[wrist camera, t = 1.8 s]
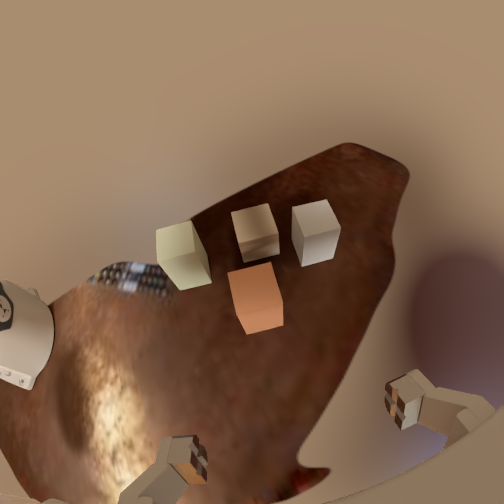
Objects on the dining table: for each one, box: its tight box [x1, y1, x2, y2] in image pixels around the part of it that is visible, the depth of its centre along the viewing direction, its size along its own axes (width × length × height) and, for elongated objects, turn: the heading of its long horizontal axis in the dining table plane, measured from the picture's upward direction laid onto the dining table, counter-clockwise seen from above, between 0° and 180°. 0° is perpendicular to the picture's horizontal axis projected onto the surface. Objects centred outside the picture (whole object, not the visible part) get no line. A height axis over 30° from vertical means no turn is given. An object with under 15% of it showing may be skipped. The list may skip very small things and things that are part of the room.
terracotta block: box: [228, 262, 283, 334], centre depth 30 cm, size 4×4×8 cm
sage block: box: [156, 220, 212, 290], centre depth 34 cm, size 4×4×8 cm
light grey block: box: [292, 199, 341, 267], centre depth 35 cm, size 4×4×7 cm
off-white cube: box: [231, 203, 280, 263], centre depth 37 cm, size 5×5×5 cm
